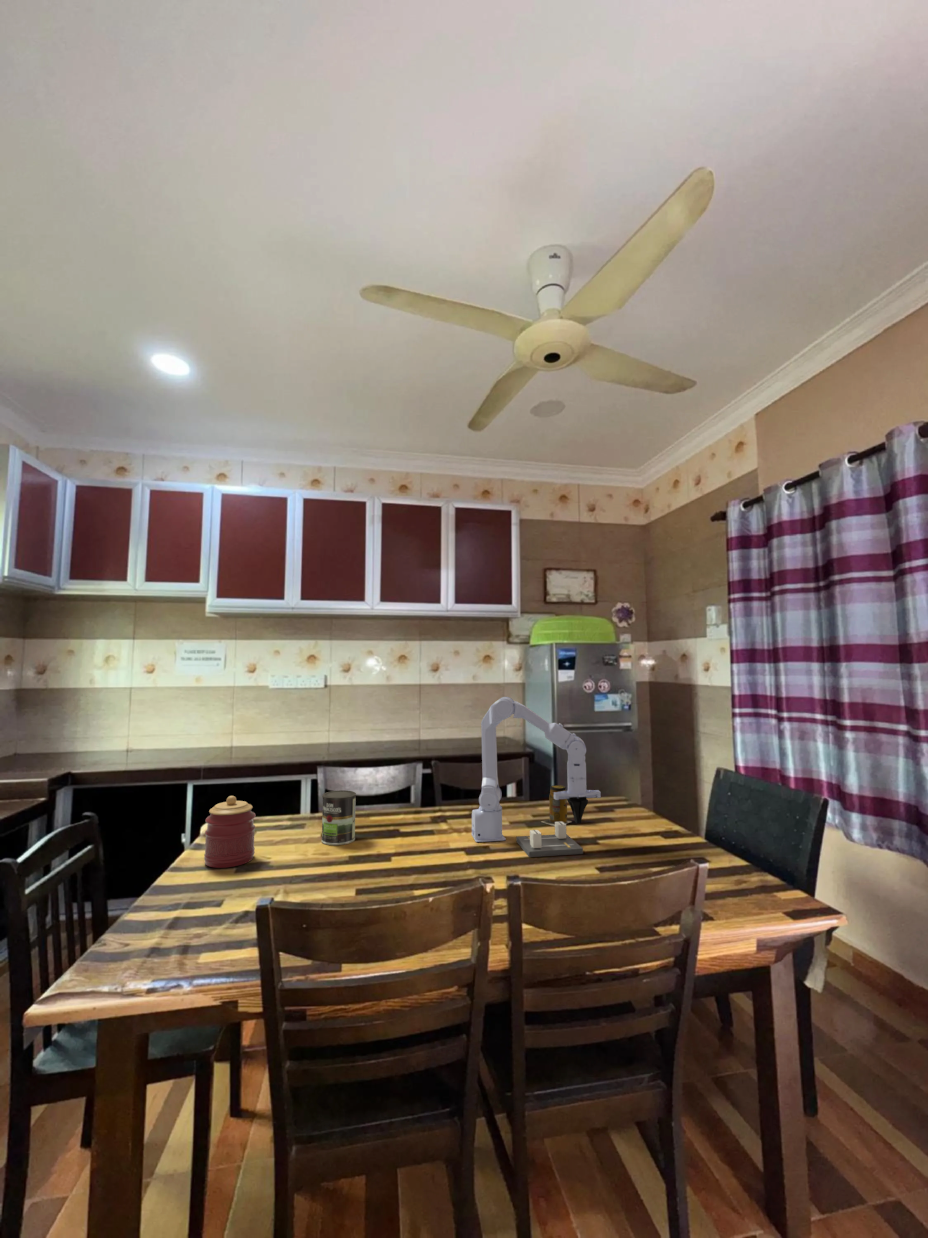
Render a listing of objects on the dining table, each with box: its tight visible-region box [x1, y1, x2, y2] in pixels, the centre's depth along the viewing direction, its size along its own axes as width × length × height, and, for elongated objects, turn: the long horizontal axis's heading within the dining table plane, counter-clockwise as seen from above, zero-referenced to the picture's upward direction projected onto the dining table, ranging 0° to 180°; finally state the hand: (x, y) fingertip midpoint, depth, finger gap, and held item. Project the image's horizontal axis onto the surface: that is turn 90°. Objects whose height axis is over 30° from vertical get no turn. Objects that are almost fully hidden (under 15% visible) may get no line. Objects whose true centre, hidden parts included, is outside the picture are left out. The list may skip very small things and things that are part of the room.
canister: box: [203, 795, 256, 869], centre depth 155 cm, size 13×13×18 cm
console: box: [515, 833, 584, 858], centre depth 165 cm, size 16×14×2 cm
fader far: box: [554, 821, 567, 839], centre depth 169 cm, size 2×4×4 cm
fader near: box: [529, 829, 542, 848], centre depth 161 cm, size 2×4×4 cm
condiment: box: [540, 784, 573, 827], centre depth 192 cm, size 7×8×12 cm
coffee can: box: [321, 790, 357, 846], centre depth 173 cm, size 10×10×14 cm
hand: (577, 822), depth 170 cm, fingers closed
